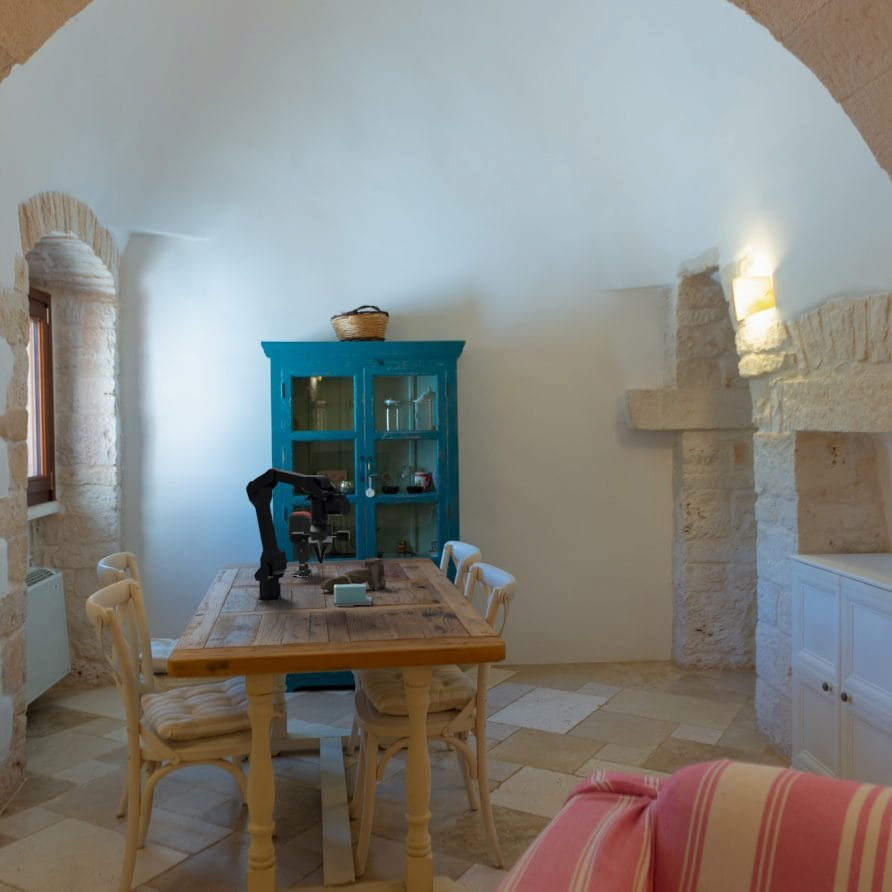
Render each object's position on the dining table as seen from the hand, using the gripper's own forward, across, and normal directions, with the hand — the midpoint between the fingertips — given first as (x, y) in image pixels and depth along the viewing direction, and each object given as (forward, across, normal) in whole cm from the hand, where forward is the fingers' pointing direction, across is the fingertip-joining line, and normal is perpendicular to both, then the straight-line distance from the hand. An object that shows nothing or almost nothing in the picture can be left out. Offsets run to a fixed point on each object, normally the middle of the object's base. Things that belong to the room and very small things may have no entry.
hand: (320, 563), depth 268 cm
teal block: (+10, +4, 0) cm, 11 cm away
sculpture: (+13, +9, +22) cm, 27 cm away
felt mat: (+13, +10, 0) cm, 16 cm away
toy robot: (+13, -11, +55) cm, 58 cm away
